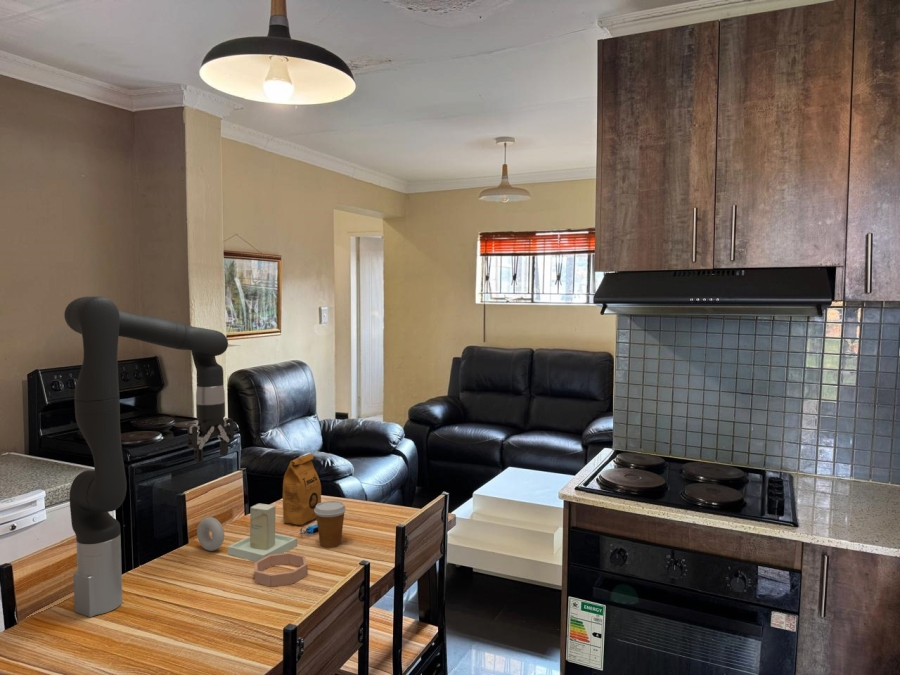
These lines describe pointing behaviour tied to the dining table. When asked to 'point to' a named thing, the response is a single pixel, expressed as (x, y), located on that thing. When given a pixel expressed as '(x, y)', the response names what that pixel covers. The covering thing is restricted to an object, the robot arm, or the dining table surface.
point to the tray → (255, 554)
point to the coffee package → (300, 491)
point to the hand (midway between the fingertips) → (211, 458)
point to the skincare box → (262, 526)
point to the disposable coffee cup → (330, 522)
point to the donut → (204, 534)
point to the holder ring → (280, 578)
